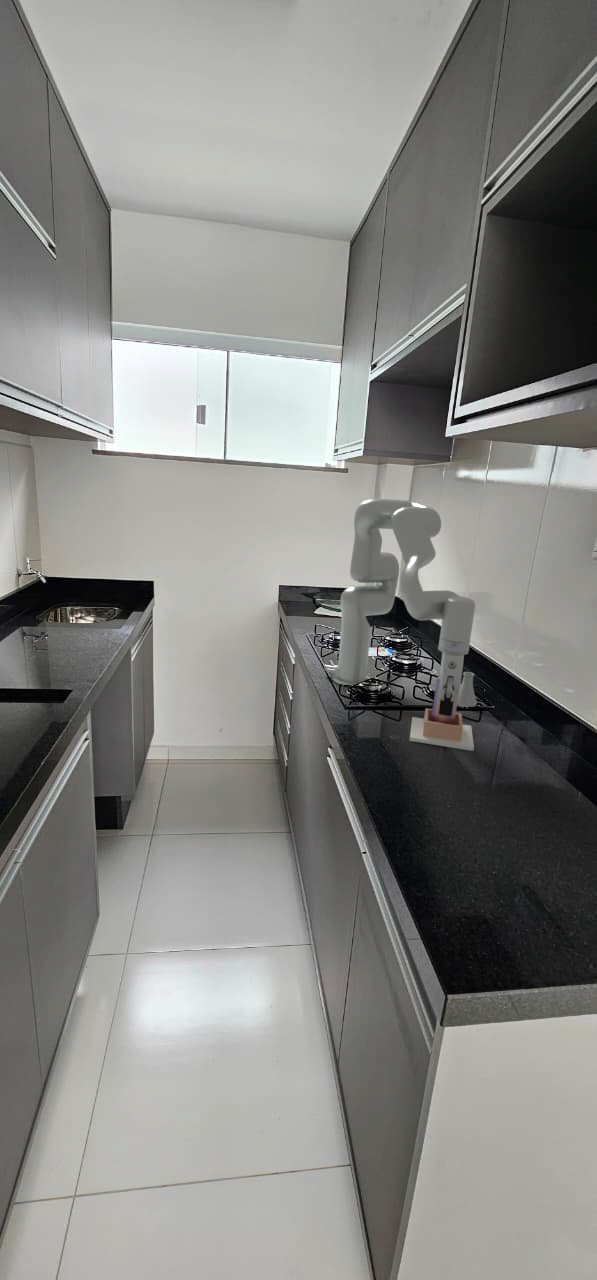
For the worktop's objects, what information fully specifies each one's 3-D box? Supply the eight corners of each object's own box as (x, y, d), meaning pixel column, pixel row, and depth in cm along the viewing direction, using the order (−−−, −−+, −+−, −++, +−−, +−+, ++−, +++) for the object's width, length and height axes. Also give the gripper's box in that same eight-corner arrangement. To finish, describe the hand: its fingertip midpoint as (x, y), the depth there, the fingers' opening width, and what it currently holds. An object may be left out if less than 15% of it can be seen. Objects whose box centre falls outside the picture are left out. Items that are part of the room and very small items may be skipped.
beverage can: (425, 727, 156) (432, 674, 152) (442, 725, 158) (450, 673, 154) (439, 736, 151) (447, 682, 147) (457, 734, 153) (465, 680, 149)
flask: (461, 698, 183) (465, 668, 180) (481, 705, 177) (486, 675, 175) (447, 702, 178) (451, 671, 175) (467, 710, 173) (472, 679, 170)
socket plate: (409, 740, 150) (411, 722, 148) (411, 720, 163) (414, 703, 162) (473, 750, 146) (476, 732, 145) (470, 729, 160) (473, 712, 158)
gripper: (470, 656, 139) (460, 723, 144) (467, 638, 155) (458, 699, 160) (438, 652, 140) (429, 718, 145) (438, 635, 157) (430, 695, 162)
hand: (444, 708), depth 153 cm, fingers open, 8 cm apart
